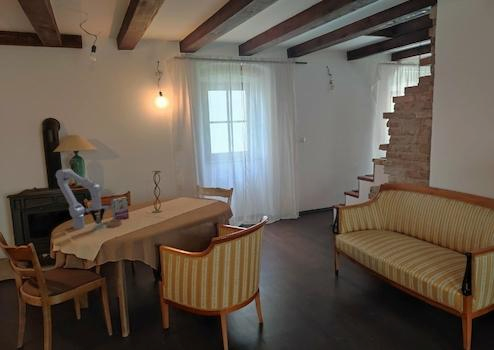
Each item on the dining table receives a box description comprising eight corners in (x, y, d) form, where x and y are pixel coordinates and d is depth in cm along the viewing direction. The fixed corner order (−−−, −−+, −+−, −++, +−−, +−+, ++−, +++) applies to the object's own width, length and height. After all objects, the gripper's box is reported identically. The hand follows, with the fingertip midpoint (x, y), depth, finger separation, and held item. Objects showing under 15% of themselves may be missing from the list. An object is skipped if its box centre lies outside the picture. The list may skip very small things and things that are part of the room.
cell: (94, 222, 261) (93, 214, 260) (100, 221, 263) (100, 213, 262) (96, 224, 257) (95, 215, 256) (102, 223, 259) (101, 214, 259)
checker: (90, 228, 262) (89, 226, 262) (104, 226, 268) (104, 223, 267) (93, 232, 254) (93, 229, 253) (108, 229, 259) (107, 226, 259)
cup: (106, 225, 268) (106, 221, 267) (119, 223, 273) (119, 218, 273) (109, 228, 260) (109, 224, 260) (123, 226, 265) (123, 221, 265)
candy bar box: (125, 217, 291) (124, 196, 289) (129, 218, 288) (127, 197, 286) (112, 220, 283) (110, 199, 281) (115, 221, 280) (113, 200, 277)
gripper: (86, 204, 250) (88, 223, 252) (108, 200, 258) (110, 219, 260) (84, 202, 256) (86, 221, 258) (105, 199, 264) (107, 217, 266)
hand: (98, 220), depth 260 cm, fingers closed on cell, 4 cm apart
